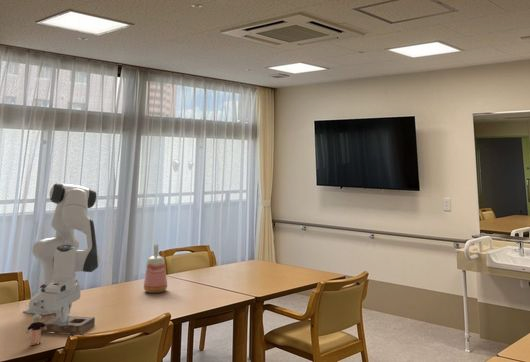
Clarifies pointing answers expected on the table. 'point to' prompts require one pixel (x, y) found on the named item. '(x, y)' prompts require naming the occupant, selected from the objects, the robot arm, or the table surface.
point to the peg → (64, 315)
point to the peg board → (69, 325)
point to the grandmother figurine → (36, 330)
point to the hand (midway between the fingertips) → (63, 315)
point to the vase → (155, 273)
